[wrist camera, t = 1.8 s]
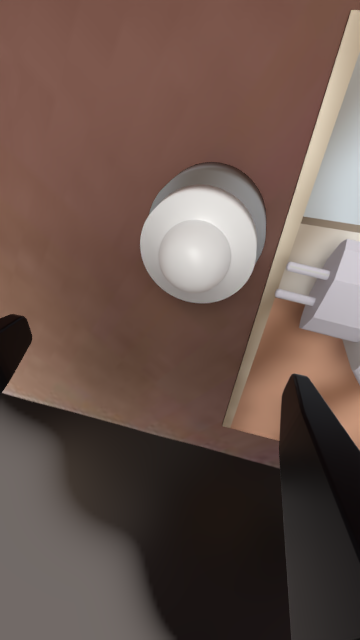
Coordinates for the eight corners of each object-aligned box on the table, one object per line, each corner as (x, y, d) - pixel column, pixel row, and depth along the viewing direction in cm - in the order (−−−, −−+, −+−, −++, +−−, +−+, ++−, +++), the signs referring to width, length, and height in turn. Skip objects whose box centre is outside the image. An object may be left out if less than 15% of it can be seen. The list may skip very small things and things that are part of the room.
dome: (270, 194, 13) (271, 219, 10) (243, 298, 16) (238, 337, 14) (149, 176, 14) (122, 196, 11) (148, 279, 17) (126, 313, 15)
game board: (864, 44, 9) (993, 33, 8) (387, 466, 27) (394, 490, 26) (166, -2, 12) (150, -16, 11) (151, 406, 30) (145, 424, 29)
